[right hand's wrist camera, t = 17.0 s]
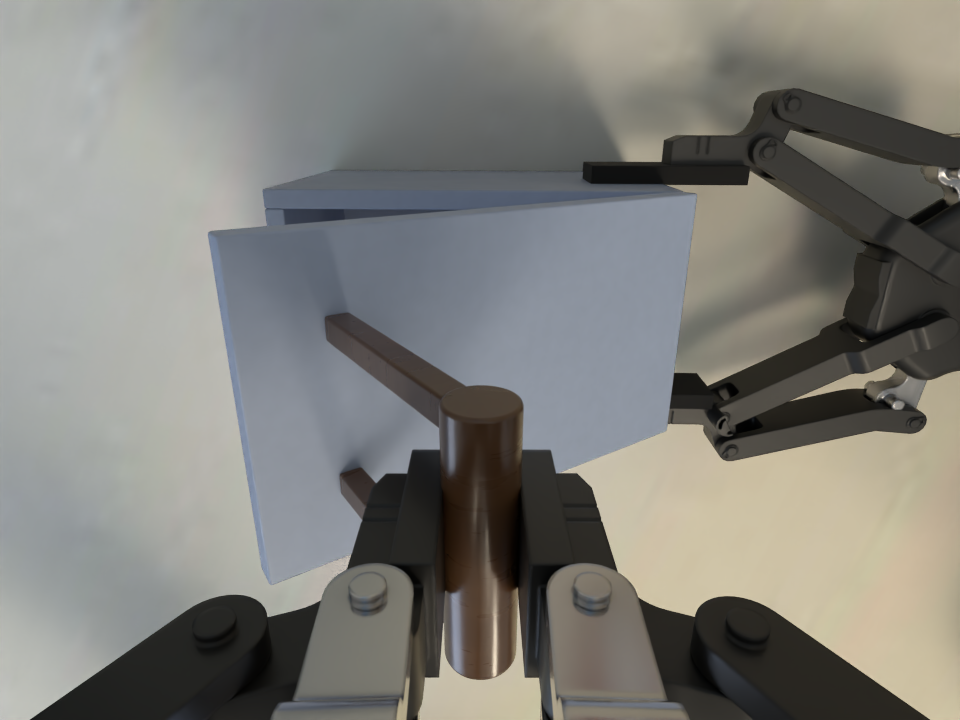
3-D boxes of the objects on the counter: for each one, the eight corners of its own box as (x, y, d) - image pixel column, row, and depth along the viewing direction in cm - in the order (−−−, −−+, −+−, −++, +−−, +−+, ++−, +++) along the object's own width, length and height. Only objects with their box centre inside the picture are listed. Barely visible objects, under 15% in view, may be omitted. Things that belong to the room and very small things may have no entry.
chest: (345, 339, 36) (290, 416, 26) (331, 170, 32) (261, 189, 23) (613, 342, 36) (656, 422, 26) (628, 171, 32) (684, 191, 22)
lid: (261, 568, 17) (384, 826, 11) (207, 230, 14) (341, 321, 7) (650, 423, 26) (846, 520, 20) (678, 191, 22) (928, 218, 16)
